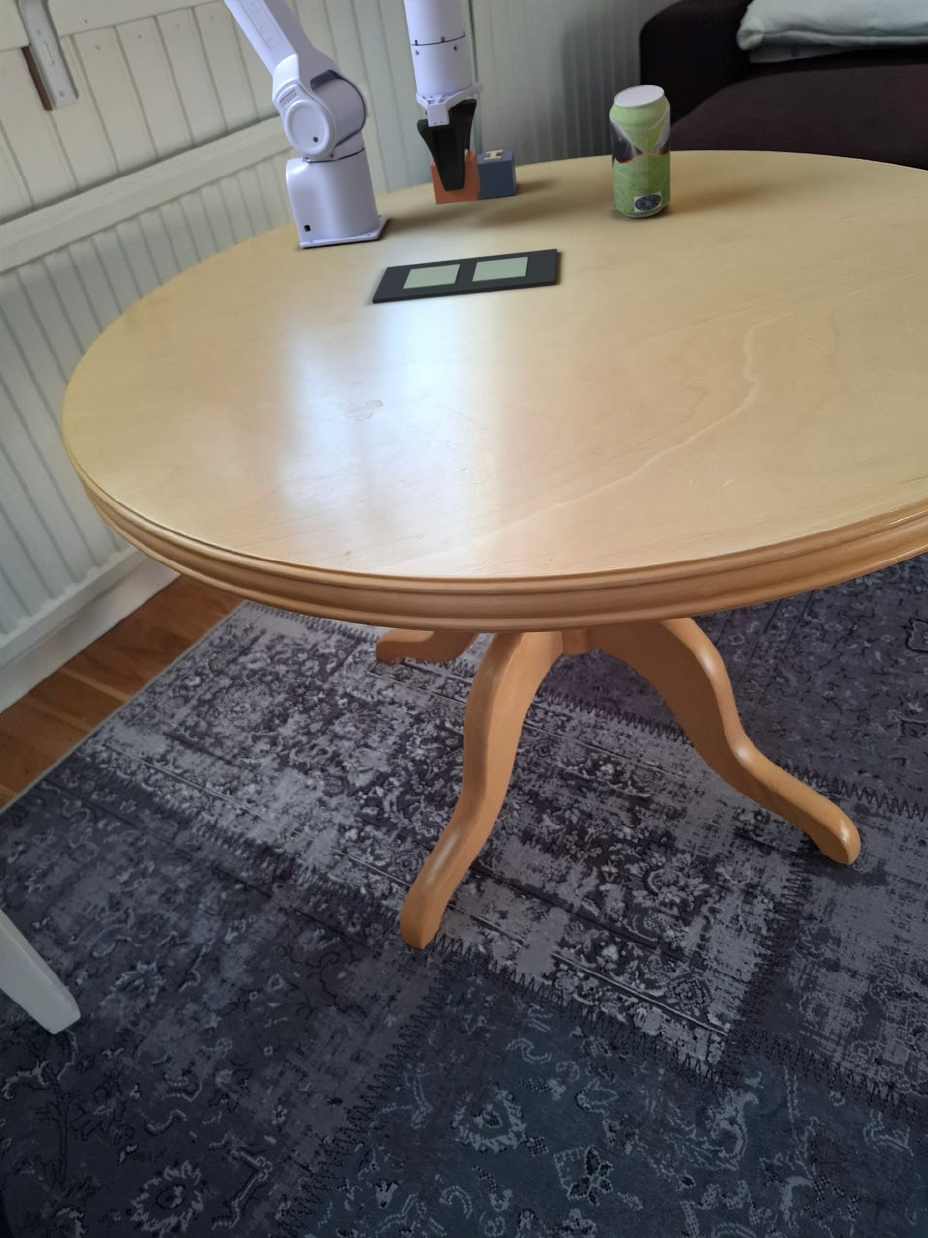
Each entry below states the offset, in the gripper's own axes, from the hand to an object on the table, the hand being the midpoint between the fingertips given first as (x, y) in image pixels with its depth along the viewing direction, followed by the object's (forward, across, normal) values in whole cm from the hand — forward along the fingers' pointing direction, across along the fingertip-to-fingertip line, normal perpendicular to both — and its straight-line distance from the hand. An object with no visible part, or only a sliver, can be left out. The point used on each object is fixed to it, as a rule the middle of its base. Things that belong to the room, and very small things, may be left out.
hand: (456, 182), depth 99 cm
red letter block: (+1, 0, 0) cm, 1 cm away
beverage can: (+5, -2, -20) cm, 21 cm away
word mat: (+5, -16, -2) cm, 17 cm away
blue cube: (+5, +13, -3) cm, 14 cm away
